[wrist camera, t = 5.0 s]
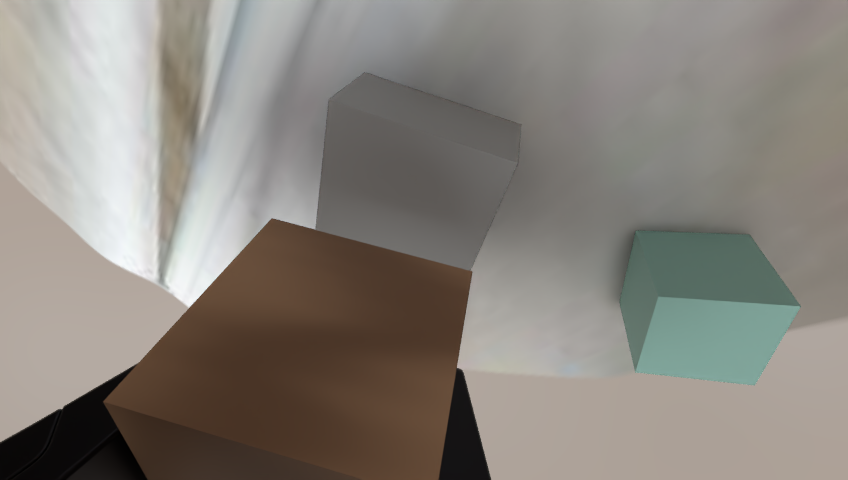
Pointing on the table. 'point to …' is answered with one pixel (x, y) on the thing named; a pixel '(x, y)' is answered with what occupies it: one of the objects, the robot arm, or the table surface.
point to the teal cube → (703, 306)
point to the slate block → (413, 171)
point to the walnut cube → (302, 367)
